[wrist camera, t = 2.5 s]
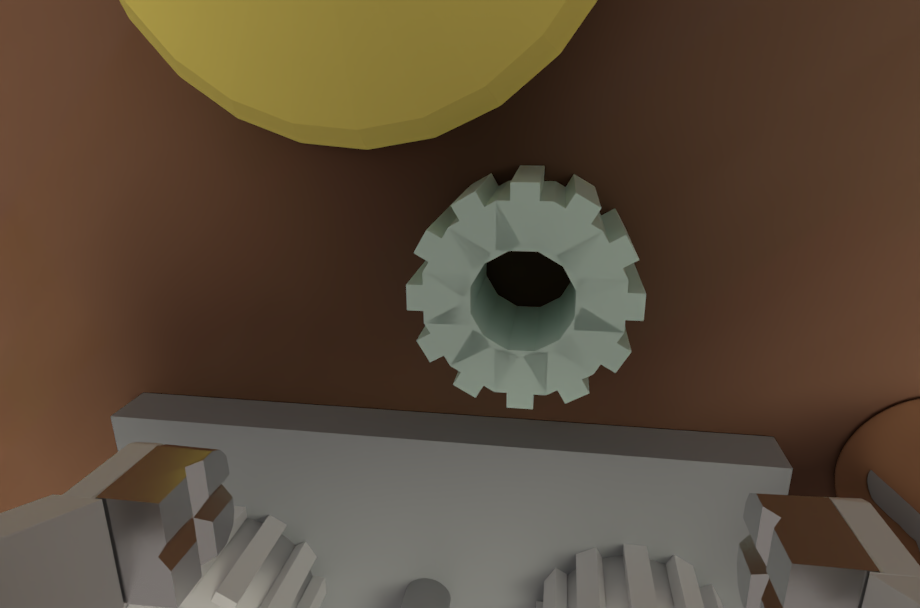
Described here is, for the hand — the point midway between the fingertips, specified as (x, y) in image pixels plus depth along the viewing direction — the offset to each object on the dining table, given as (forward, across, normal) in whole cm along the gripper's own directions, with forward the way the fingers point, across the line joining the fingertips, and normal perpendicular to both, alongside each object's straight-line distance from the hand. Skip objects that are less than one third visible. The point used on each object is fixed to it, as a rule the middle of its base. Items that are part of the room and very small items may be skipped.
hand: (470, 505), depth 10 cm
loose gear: (+13, 0, -1) cm, 13 cm away
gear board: (+13, +3, +12) cm, 18 cm away
